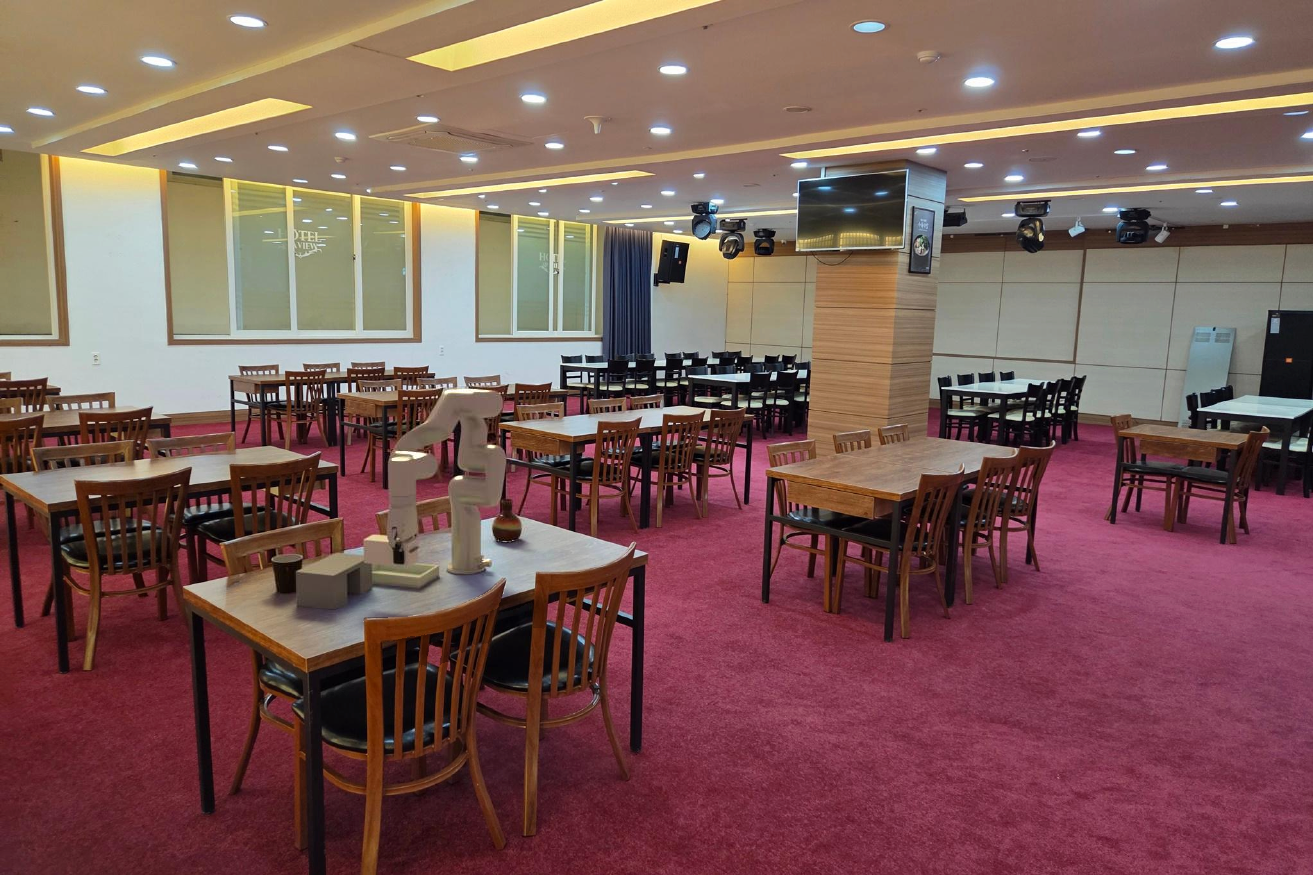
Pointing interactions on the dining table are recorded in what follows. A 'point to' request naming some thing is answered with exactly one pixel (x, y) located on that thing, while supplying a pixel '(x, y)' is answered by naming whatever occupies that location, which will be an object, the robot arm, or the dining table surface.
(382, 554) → the tan cardboard box
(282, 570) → the coffee mug
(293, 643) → the dining table surface
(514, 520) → the vase
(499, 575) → the dining table surface
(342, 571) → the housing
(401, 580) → the tray
